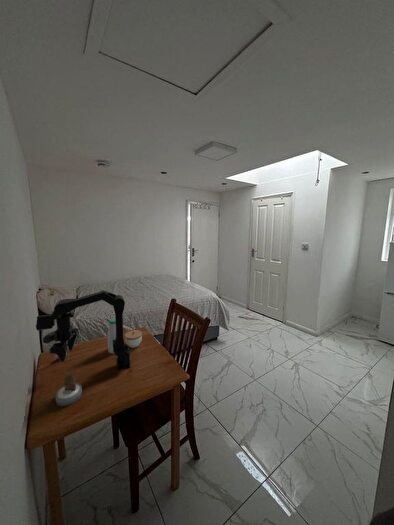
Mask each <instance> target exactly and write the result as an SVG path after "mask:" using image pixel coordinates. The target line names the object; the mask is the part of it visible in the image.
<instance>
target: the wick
mask: <svg viewBox="0 0 394 525" xmlns="http://www.w3.org/2000/svg"><path fill="white" fill-rule="evenodd" d="M76 383H77V382H76V375H75V374H70V375H69V374H67V375H64V377H63V386H64V387H65V391H66V390H71V391H75V390H76Z"/></svg>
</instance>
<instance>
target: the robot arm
mask: <svg viewBox="0 0 394 525" xmlns="http://www.w3.org/2000/svg"><path fill="white" fill-rule="evenodd" d="M101 301H103V302H105V303H107V304H109V305H110V306H112V307H113V310H114V311H113V312H114V319H115V323H116V338H115V340H113V352H114V353H113V354H114V355H115V356H116V366H117V370H123V369H124V370H125V369H129V368H131V364H132V359H131V352H130V347H129V346H128V345H127V344H126V342H125V338H124V324H123V323H124V320H123V319H124V316H123V315H124V311H125V305H126V302H125V299H124V297H123V296H122V295H120V294H114V293H111V292H109V291H107V290H101V291H97V292H94V293H91V294H88V295H83V296H80V297H77V298H65V299H61V300H58V301H57V303H56V304H55V306H54V307H53V311H52V312H51V313H50V314H49V313H48V314H40V315H37V316H36V325H35V329H36V331H43V330H51V329H53V328H54V327H55V326H56V330H54V331H51V332H48V333H47V334H46V335H44V337H43V338H42V342H43V343H44V344H49V343H51V342H55V343H54V344H52V346H51V347H49V351H48V352H49V354H52V355H53V354H55V355H58V357H57V358H58V359H59V360H60V362H65V359H66V356H67V355H66V353H67V354H68V351H67V350H69V351H72V350H73V348H74V345H75V342H76V340H77V338H78V334H79V332H80V330H79V328H78V327H74V326H73V325H72V324H71V322H72V321H71V318H74V316H75V313H74V312H72V311H74V310H75V309H77V308H80V307H83V306H88V305H89V304H93V303H96V302H97V303H98V302H101ZM67 347H68V348H67Z"/></svg>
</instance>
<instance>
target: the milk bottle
mask: <svg viewBox="0 0 394 525" xmlns="http://www.w3.org/2000/svg"><path fill="white" fill-rule="evenodd" d="M108 323H109V327H108V330H107V334H106V335H107V351H108V353H110V354H115V353H114V352H113V340H115V338H116V323H115V318H111V319H110V320H109V322H108Z"/></svg>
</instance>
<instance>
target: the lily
mask: <svg viewBox="0 0 394 525" xmlns="http://www.w3.org/2000/svg"><path fill="white" fill-rule="evenodd" d="M67 348H68V347H67ZM68 350H69V348H68ZM68 350H67V353H66V356H67V358H68V359H69V360H71V358H70V357H69V355H68ZM58 358H59V357H58V355H57V354H55V355H54V356H53V362H54V361H56V360H57V359H58Z"/></svg>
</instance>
